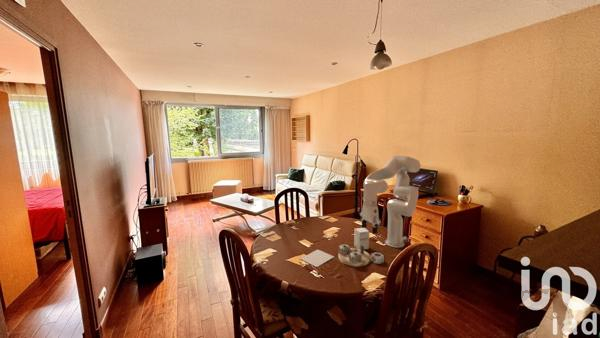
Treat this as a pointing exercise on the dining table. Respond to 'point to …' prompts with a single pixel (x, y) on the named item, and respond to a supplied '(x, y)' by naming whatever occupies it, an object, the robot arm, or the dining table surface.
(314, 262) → the paper stack
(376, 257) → the planet gear
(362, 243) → the supplement box
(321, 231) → the dining table surface
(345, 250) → the carrier
